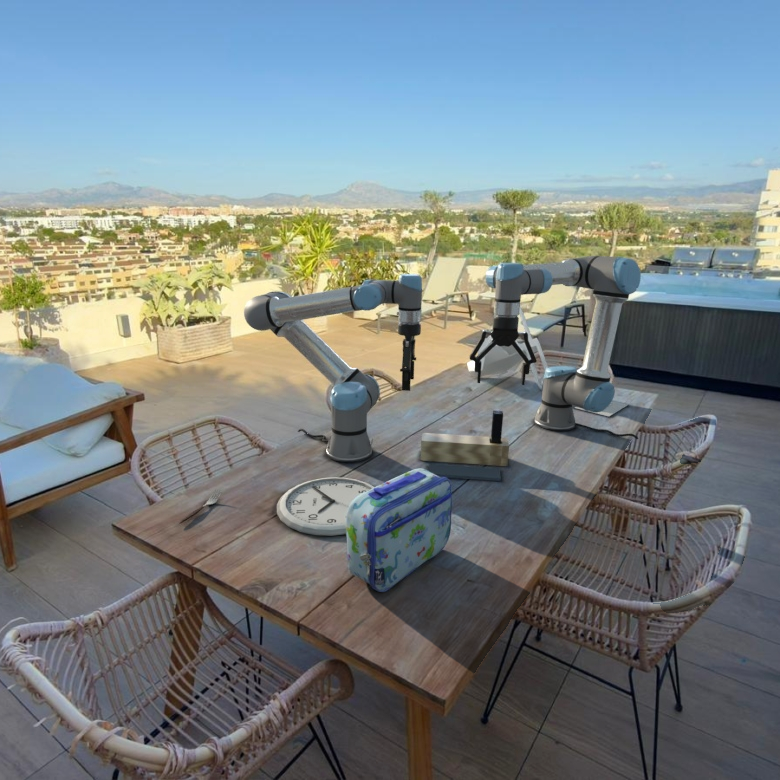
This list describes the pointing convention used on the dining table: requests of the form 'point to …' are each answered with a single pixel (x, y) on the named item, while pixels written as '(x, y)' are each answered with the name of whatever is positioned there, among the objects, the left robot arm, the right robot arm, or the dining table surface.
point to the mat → (465, 472)
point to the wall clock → (320, 505)
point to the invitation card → (609, 408)
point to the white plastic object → (507, 356)
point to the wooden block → (464, 449)
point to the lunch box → (398, 527)
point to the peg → (496, 427)
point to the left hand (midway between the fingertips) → (408, 384)
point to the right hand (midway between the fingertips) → (500, 383)
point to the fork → (209, 502)
